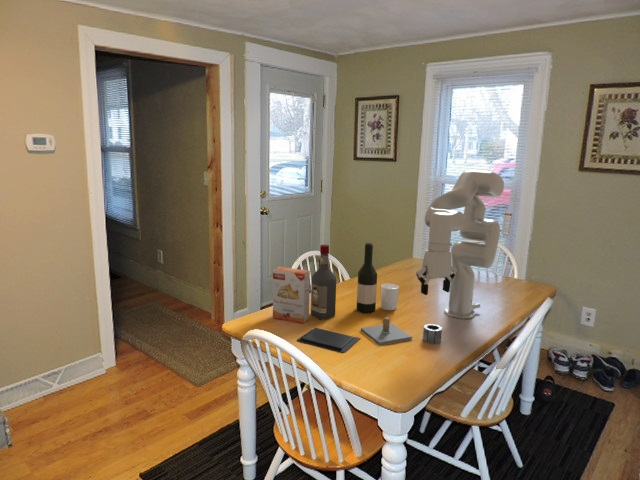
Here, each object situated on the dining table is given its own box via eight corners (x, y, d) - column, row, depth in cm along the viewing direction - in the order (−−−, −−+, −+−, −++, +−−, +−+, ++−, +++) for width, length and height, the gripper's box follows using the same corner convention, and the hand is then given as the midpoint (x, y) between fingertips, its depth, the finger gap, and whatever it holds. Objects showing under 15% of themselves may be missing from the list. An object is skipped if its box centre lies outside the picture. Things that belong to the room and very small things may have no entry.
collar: (433, 335, 181) (434, 323, 180) (444, 342, 175) (445, 329, 174) (419, 337, 178) (420, 325, 177) (430, 344, 173) (431, 331, 172)
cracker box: (272, 318, 194) (272, 269, 189) (278, 313, 199) (278, 265, 195) (303, 324, 189) (304, 273, 184) (309, 319, 194) (310, 269, 190)
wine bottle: (362, 314, 200) (366, 245, 194) (352, 308, 207) (355, 241, 201) (379, 311, 204) (382, 244, 198) (368, 305, 211) (371, 240, 205)
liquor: (323, 309, 205) (324, 242, 198) (338, 315, 199) (340, 246, 192) (307, 314, 199) (308, 245, 192) (322, 321, 192) (324, 249, 186)
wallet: (294, 337, 173) (316, 324, 186) (294, 342, 173) (315, 328, 186) (343, 350, 163) (362, 335, 176) (343, 355, 164) (362, 340, 177)
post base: (391, 325, 189) (392, 310, 188) (411, 339, 177) (412, 322, 175) (360, 330, 184) (361, 314, 182) (379, 345, 171) (380, 328, 170)
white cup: (397, 311, 205) (398, 289, 203) (379, 310, 206) (380, 288, 204) (398, 305, 212) (399, 284, 210) (380, 304, 214) (381, 282, 212)
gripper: (451, 243, 176) (447, 287, 180) (412, 246, 169) (409, 291, 173) (465, 247, 169) (460, 293, 173) (425, 250, 163) (421, 298, 166)
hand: (435, 292), depth 173 cm, fingers open, 9 cm apart
